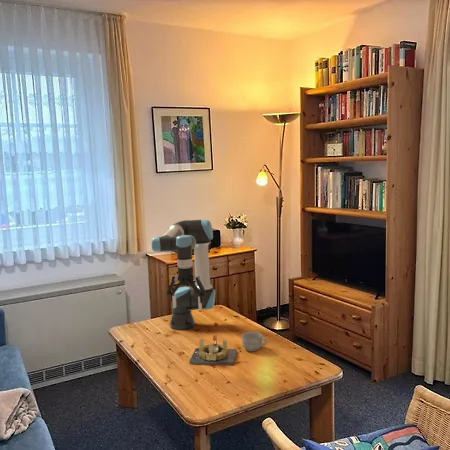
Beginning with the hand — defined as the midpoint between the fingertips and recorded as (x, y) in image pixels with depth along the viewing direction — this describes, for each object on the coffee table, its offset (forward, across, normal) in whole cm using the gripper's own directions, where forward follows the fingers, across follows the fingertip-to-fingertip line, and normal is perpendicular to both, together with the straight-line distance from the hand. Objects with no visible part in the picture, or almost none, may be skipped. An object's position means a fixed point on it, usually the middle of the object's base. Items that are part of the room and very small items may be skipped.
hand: (187, 308), depth 239 cm
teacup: (+27, +30, +18) cm, 44 cm away
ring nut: (+25, +11, +5) cm, 28 cm away
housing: (+27, +11, +5) cm, 30 cm away
